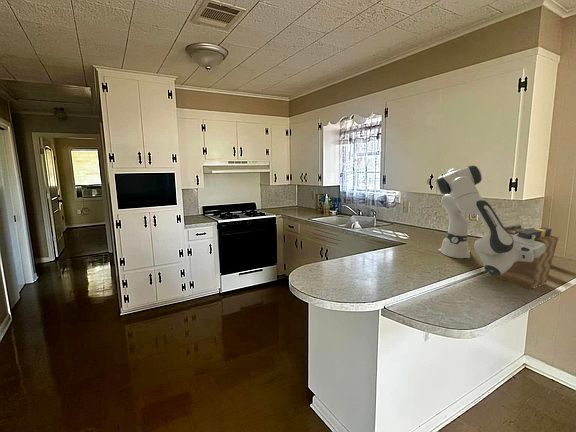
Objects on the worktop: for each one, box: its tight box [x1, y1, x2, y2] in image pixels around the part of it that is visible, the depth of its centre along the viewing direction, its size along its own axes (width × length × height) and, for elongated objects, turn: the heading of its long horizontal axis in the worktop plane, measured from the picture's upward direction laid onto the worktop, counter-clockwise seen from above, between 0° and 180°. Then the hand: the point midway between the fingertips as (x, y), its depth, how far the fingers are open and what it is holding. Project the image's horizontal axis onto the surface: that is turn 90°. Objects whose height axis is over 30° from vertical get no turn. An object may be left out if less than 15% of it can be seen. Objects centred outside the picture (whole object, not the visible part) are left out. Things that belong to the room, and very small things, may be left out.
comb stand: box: [490, 224, 559, 290], centre depth 170 cm, size 16×20×28 cm
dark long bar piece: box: [518, 226, 553, 239], centre depth 160 cm, size 24×4×4 cm, turn 118°
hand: (528, 234), depth 157 cm, fingers closed on dark long bar piece, 3 cm apart
